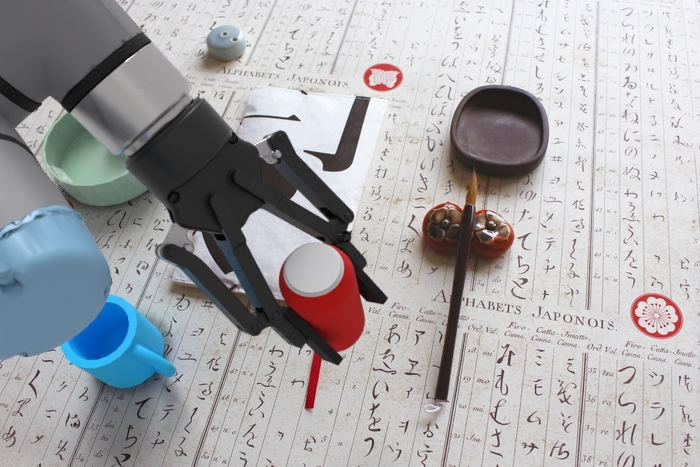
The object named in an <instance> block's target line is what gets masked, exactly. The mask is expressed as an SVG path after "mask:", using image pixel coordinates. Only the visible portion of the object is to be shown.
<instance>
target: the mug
mask: <svg viewBox="0 0 700 467" xmlns="http://www.w3.org/2000/svg"><path fill="white" fill-rule="evenodd" d="M60 349H61V351H62V354H63V355H64V358H65V359H66V360H67V361H68V362H69V363H71V364H72V365H74V366H75V367H76V368H79V369H80V370H82V371H84V372H85V373H87V374H89V375H90V376H92V377H94V378H96V379H98V380H99V381H101V382H103V383H104V384H106V385H108V386H110V387H114V388H117V389H130V388H133V387H136V386H138V385H142V384H143V383H144V382H146V381H147V380H148V379H150V378H151V377H152V376H153V375H154V374H155V373H157V374H158V375H161V376H164V377H165V378H172V377H174V376H175V375H176V373H177V367H176V366H175V365H174V364H173V363H171V361H168V360H167V359H165V358H164V354H165V342H164V337H163V335H162V333H161V332H160V330H159V328H157V327H156V325H154V324H153V323H152V322H151V321H150V320H149V319H147V317H145V316H144V315H143V313H141V312H140V311H139V310H138V309H137V308H136V306H134V305H133V304H132V303H130V302H129V301H128V300H126V299H125V298H123V297H121V296H118V295H115V294H109V296H108V299H107V301H106V303H105V305H104V307H103V308H102V310H101V311H100V313H99V314H98V315H97V317H96V318H95V319H94V320H93V321H92V322H91V323H90V324H89V325H88V326H87V327H86V328H85V329H84V330H83V331H81V332H80V333H79V334H78V335H76V336H75V337H73V338H72V339H70V340H69V341H67V342H65V343H64V344H62V345H60Z"/></svg>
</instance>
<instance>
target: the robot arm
mask: <svg viewBox="0 0 700 467" xmlns="http://www.w3.org/2000/svg"><path fill="white" fill-rule="evenodd" d="M192 89H193V84H192V82H191V81H190V80H189V79H188V78H187V77H186V76H185V75H184V74H183V73H182V71H181V70H180V69H179V68H178V67H176V65H175V64H174V63H173V62H172V61H171V60H170V59H169V58H168V57H167V56H166V54H164V53H163V51H162V50H161V49H160V48H159V47H158V46H157V45H156V44H155V43H154V41H152V40H151V39H150V38H149V36H148V35H147V34H146V33H145V31H144V30H142V29H141V27H140V26H139V25H138V24H137V23H136V21H134V20H133V18H132V16H130V15H129V14H128V12H127V11H126V10H124V7H122V6H121V5H120V4H119V3H118V2H117V0H0V361H6V360H9V359H12V358H14V357H16V356H21V357H22V358H23V357H24V358H30V357H31V358H32V357H36V356H39V355H41V354H44V353H47V352H50V351H52V350H54V349H56V348H58V347H61V345H62V344H64V343H65V342H67V341H69V340H70V339H72V338H73V337H75V336H76V335H78V334H79V333H80V332H81V331H83V330H84V329H85V328H86V327H87V326H88V325H89V324H90V323H91V322H92V321H93V320H94V319H95V318H96V317H97V315H98V314H99V313H100V311H101V310H102V308H103V307H104V305H105V303H106V301H107V299H108V296H109V295H110V292H111V287H112V282H113V278H112V273H111V267H110V264H109V263H108V260H107V258H106V257H105V255H104V253H103V252H102V250H101V248H100V246H99V245H98V243H97V242H96V240H95V238H94V236H93V235H92V233H91V231H90V229H89V228H88V226H87V224H86V219H85V218H84V217H83V215H82V214H81V213H80V212H79V211H77V210H76V209H74V208H73V207H72V206H71V204H70V203H69V201H68V200H67V199H66V198H65V196H64V195H63V194H62V192H61V191H60V190H59V188H58V187H57V185H56V184H55V183H54V181H52V179H51V178H50V177H49V175H48V174H47V172H46V171H45V170H44V168H42V165H41V164H40V162H39V161H38V159H37V157H36V155H35V154H34V152H33V151H32V150H31V148H30V146H28V144H27V143H26V141H25V140H24V139H23V136H22V135H21V134H20V133H19V131H18V130H17V129H16V128H17V127H18V126H19V125H20V124H21V123H22V122H24V121H25V120H26V119H27V118H28V117H29V116H30V115H31V114H33V113H34V112H36V111H37V110H38V109H39V108H40V107H42V105H43V102H44V101H46V100H47V99H48V98H49V97H50V98H51V99H52V100H54V101H56V102H57V103H58V104H59V105H60V106H61V107H62V108H63V109H64V110H65V112H66V111H67V112H68V113H71V115H72V116H73V117H74V118H75V119H76V120H77V121H78V122H79V123H80V124H81V125H82V126H83V127H84V128H85V129H86V130H87V131H88V132H89V133H90V134H91V135H92V136H93V137H94V138H95V139H96V140H97V141H99V142H100V143H101V144H102V145H103V146H104V147H105V148H106V149H107V150H108V151H109V152H110V153H111V154H112V155H119V154H120V153H123V154H124V155H125V156H126V157H127V158H128V159H127V160H126V161H125V164H126V165H127V166H126V167H125V168H126V169H127V170H128V171H129V172H130V173H131V174H132V175H133V176H135V177H136V178H137V179H138V180H139V181H140V182H141V183H142V184H143V185H144V186H145V187H146V188H147V189H148V190H147V191H149V192H150V193H151V195H153V196H154V197H155V198H156V199H157V200H158V201H159V202H160V203H161V204H162V205H163V206H164V207H165V209H166V210H167V213H168V215H169V219H170V221H171V223H172V225H171V227H170V229H169V231H168V232H167V235H166V236H165V238H164V240H163V242H162V243H159V244H158V245H156V246H155V249H154V255H155V256H156V258H158V259H159V260H161V261H164V262H165V263H167V264H170V265H172V266H174V267H176V268H178V269H180V270H181V271H182V272H183V273H184V275H185V276H186V277H187V278H188V279H189V280H190V281H191V282H193V284H194V285H195V286H196V287H197V288H198V289H199V290H200V291H201V292H202V293H203V294H204V296H206V297H207V299H209V300H210V302H211V303H212V304H213V305H214V306H215V307H216V308H217V309H218V310H219V311H220V312H221V314H223V315H224V316H225V318H227V319H228V321H230V322H231V323H232V325H233V326H234V327H236V329H237V330H238V331H239V332H242V333H244V334H246V335H249V336H252V337H258V336H260V335H261V334H262V332H263V331H264V330H266V329H267V328H269V327H270V328H271V329H272V331H273V332H275V333H276V334H277V335H278V336H279V337H280V338H282V339H283V340H284V341H285V342H286V343H287V344H288V345H290V346H293V347H296V348H298V349H303V348H304V347H305V345H307V347H309V348H310V349H311V350H312V351H313V352H314V353H315V354H316V355H317V356H318V357H319V358H320V359H321V360H323V361H325V362H328V363H329V364H330V363H331V364H333V365H335V366H340V365H341V363H342V362H343V360H344V357H343V356H342V355H341V354H340V352H337V351H336V350H335V349H333V348H332V347H331V346H330V345H329V344H328V343H327V342H326V341H325V340H324V339H323V338H322V337H321V336H320V335H319V334H318V333H317V332H316V331H315V330H314V329H313V328H312V327H311V326H310V325H309V324H308V323H307V322H306V321H305V320H304V319H303V318H302V317H301V316H300V315H299V314H298V313H296V312H295V311H294V310H293V309H292V308H289V307H288V306H285V305H281V304H279V303H278V301H277V299H276V297H275V295H274V293H273V291H272V289H271V287H270V285H269V284H268V282H267V279H266V278H265V276H264V274H263V273H262V270H261V269H260V267H259V265H258V263H257V261H256V259H255V257H254V255H253V253H252V251H251V249H250V248H249V246H248V243H247V237H246V235H245V234H244V232H243V230H242V229H243V227H244V226H246V224H247V222H248V219H249V218H250V216H251V215H252V214H254V213H256V212H257V211H259V210H263V211H266V212H268V213H269V214H271V215H273V216H275V217H277V218H278V219H280V220H282V221H283V222H285V223H287V224H289V225H291V226H293V227H294V228H295V229H298V230H300V231H302V232H304V233H305V234H307V235H309V236H310V237H312V238H314V239H316V240H317V241H319V242H320V243H325V244H329V245H332V246H334V247H336V248H338V249H340V250H341V251H342V252H344V253H345V254H346V255H347V257H348V258H349V259H350V261H351V263H352V265H353V267H354V271H355V275H356V280H357V284H358V288H359V293H360V297H362V299H364V301H366V302H368V303H373V304H378V305H385V303H386V302H387V301H388V300H389V297H388V296H387V295H386V294H385V293H384V291H383V290H382V289H381V288H380V287H379V286H378V285H377V283H375V281H374V280H373V279H372V278H371V277H370V276H369V275H368V274H367V272H366V271H365V270H364V269H365V268H366V266H367V265H368V261H367V259H366V257H365V256H364V255H363V254H362V252H360V251H359V250H358V248H357V247H356V246H355V245H354V243H352V242H351V241H352V234H351V231H349V230H348V228H349V225H350V224H352V223H353V222H354V220H355V213H354V211H353V210H352V209H351V208H350V207H349V206H348V205H347V204H346V203H345V201H343V200H342V198H340V197H339V195H337V194H336V193H335V191H334V190H333V189H332V188H330V186H328V184H327V183H326V182H325V181H324V180H323V179H322V178H321V177H320V176H319V175H318V174H317V173H316V172H315V171H314V170H313V169H312V168H311V167H310V166H309V165H308V164H307V162H305V161H304V160H303V159H302V158H301V156H300V155H298V154H297V151H296V150H295V147H294V146H293V143H292V141H291V139H290V138H289V135H288V133H287V132H286V131H284V130H281V129H279V130H277V131H273V132H271V133H269V134H268V133H267V134H266V135H264V136H263V137H262V139H260V140H259V141H257V142H255V143H252V142H250V141H247V140H245V139H243V138H241V137H239V136H238V135H237V134H236V132H235V131H234V130H233V128H232V127H231V126H230V125H229V123H228V122H226V120H225V119H224V118H223V117H222V116H221V114H219V113H218V111H217V110H216V109H215V108H214V107H213V106H212V105H211V104H210V103H209V101H207V99H206V98H205V97H200V96H196V97H195V98H194V97H193V96H192V95H191V94H190V93H191V91H192ZM261 159H262V160H263V161H265V163H266V164H269V165H273V167H274V168H275V169H276V170H277V171H278V172H279V174H281V175H282V176H283V177H284V179H286V181H288V182H289V183H290V184H291V185H292V186H293V187H294V188H295V189H296V190H297V191H298V192H299V193H300V194H301V195H302V196H303V197H304V198H305V199H306V200H307V201H308V202H309V203H310V205H312V206H313V207H314V208H315V209H316V210H318V212H319V213H320V214H321V215H322V216H323V217H325V219H324V218H323V217H320V215H318V214H316V213H314V212H313V211H311V210H309V209H307V208H306V207H304V206H303V205H301V204H299V203H297V202H295V201H294V200H292V199H290V198H289V197H287V196H285V195H284V193H283V192H282V191H280V190H279V189H277V188H275V187H273V186H272V185H270V184H268V183H267V182H265V181H264V180H265V179H264V175H263V174H264V173H263V168H262V161H261ZM189 231H193V232H201V233H207V234H211V236H212V238H213V239H214V242H215V244H216V245H217V247H218V248H219V249H220V250H221V251H222V252H223V255H224V256H225V259H226V260H227V262H228V264H229V266H230V267H231V269H232V271H233V273H234V275H235V277H236V278H237V280H238V283H239V284H240V286H241V288H242V289H243V292H244V293H245V295H246V297H247V299H248V301H249V302H250V305H251V306H252V308H253V310H254V311H253V312H252V311H251V310H250V309H248V307H247V306H246V305H245V303H243V302H242V301H241V299H239V298H238V297H237V295H236V294H235V293H234V292H233V291H232V290H231V289H230V288H229V287H228V286H227V284H225V283H224V282H223V280H221V278H220V277H219V276H218V275H217V274H216V273H215V272H214V271H213V270H212V268H211V267H209V265H208V264H207V263H206V262H205V261H203V259H202V258H200V257H199V256H198V255H196V254H194V252H195V248H196V247H195V244H194V243H193V242H192V241H191V240H190V238H189V235H188V232H189ZM338 253H339V252H338ZM342 260H343V259H342ZM343 263H344V262H343Z"/></svg>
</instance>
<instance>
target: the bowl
mask: <svg viewBox="0 0 700 467" xmlns="http://www.w3.org/2000/svg"><path fill="white" fill-rule="evenodd" d="M41 156H42V163H43V165H44V167H45V168H46V170H47V172H48V173H49V175H50V176H51V177H52V178H53V179H54V181H56V182H57V183H58V184H59V185H60V187H61V188H62V189H63V191H65V192H66V193H67V194H68V195H69V196H70V197H71V198H73V199H74V200H76V201H78V202H80V203H82V204H85V205H90V206H95V207H108V206H116V205H119V204H123V203H127V202H128V201H131V200H134V199H136V198H138V197H139V196H141V195H142V194H144V193H145V192H147V191H149V190H148V189H147V188H146V187H145V186H144V185H143V184H142V183H141V182H140V181H139V180H138V179H137V178H136V177H135V176H133V175H132V174H131V173H130V172H129V171H128V170H127V169H126V168H125V167H126V166H127V165H126V164H125V161H126V160H127V159H128V158H127V157H126V156H125V155H124V154H123V153H120V154H119V155H112V154H111V153H110V152H109V151H108V150H107V149H106V148H105V147H104V146H103V145H102V144H101V143H100V142H99V141H97V140H96V139H95V138H94V137H93V136H92V135H91V134H90V133H89V132H88V131H87V130H86V129H85V128H84V127H83V126H82V125H81V124H80V123H79V122H78V121H77V120H76V119H75V118H74V117H73V116H72V115H71V113H68V112H67V111H66V110H65V112H63V113H62V114H61V115H60V116H59V117H58V118H57V119H56V120H55V121H54V123H52V125H51V126H50V128H49V130H48V131H47V133H46V134H45V137H44V140H43V144H42V148H41Z"/></svg>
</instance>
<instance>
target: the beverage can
mask: <svg viewBox="0 0 700 467" xmlns="http://www.w3.org/2000/svg"><path fill="white" fill-rule="evenodd" d="M338 252H339V253H338ZM342 259H343V260H342ZM343 262H344V263H343ZM278 288H279V291H280V294H281V296H282V299H283V301H284V302H285V305H286V307H289V308H292V309H293V310H294V311H295V312H296V313H298V314H299V315H300V316H301V317H302V318H303V319H304V320H305V321H306V322H307V323H308V324H309V325H310V326H311V327H312V328H313V329H314V330H315V331H316V332H317V333H318V334H319V335H320V336H321V337H322V338H323V339H324V340H325V341H326V342H327V343H328V344H329V345H330V346H331V347H332V348H333V349H335V350H336V351H337V352H338V353H340V352H343V351H346V350H348V349H350V348H351V347H352V346H353V345H355V344H357V342H358V341H359V340H360V339H361V336H363V333H364V329H365V326H366V315H365V311H364V305H363V301H362V298H361V297H362V296H361V295H360V293H359V288H358V284H357V280H356V275H355V271H354V267H353V265H352V263H351V261H350V259H349V258H348V257H347V255H346V254H345V253H344V252H342V251H341V250H340V249H338V248H336V247H334V246H332V245H329V244H325V243H323V242H310V243H309V242H308V243H305V244H302V245H301V246H297V248H295V249H294V250H293V251H292V252H291V253H289V255H288V256H287V257H286V258H285V259H284V261H283V263H282V264H281V267H280V270H279V275H278Z"/></svg>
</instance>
